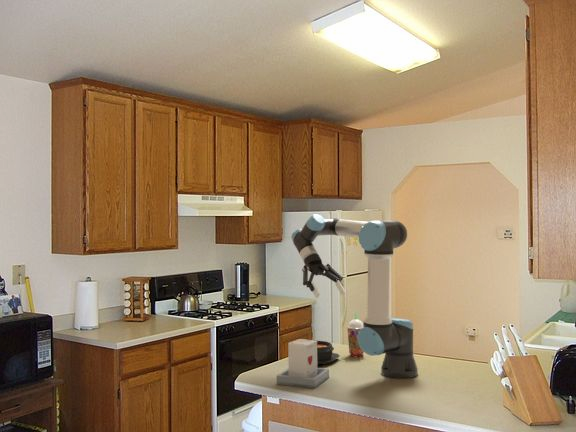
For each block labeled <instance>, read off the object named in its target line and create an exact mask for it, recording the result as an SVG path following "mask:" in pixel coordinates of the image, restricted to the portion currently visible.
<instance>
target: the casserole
mask: <svg viewBox="0 0 576 432" xmlns="http://www.w3.org/2000/svg"><path fill="white" fill-rule="evenodd" d="M316 341H317V366H321V365H325V364H328V363H331V362H332V363H333V361H336V359H338V358H340V357H341V355H339V353H336V352H333V351H334V350H335V348H334V347H333V344H332V342H329V341H326V340H325V341H324V340H316Z"/></svg>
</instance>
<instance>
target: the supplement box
mask: <svg viewBox="0 0 576 432" xmlns="http://www.w3.org/2000/svg"><path fill="white" fill-rule="evenodd" d="M317 341H318V340H313V339H312V340H311V339H304V338H299V339H296V340H293V341H290V342H288V345H287V347H288V349H287V350H288V360H287V361H288V364H287V365H288V367H287V369H288V373H289V376H294V377H304V378H315V377H316V376H317V368H318V365H317Z"/></svg>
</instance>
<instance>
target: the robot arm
mask: <svg viewBox="0 0 576 432" xmlns="http://www.w3.org/2000/svg"><path fill="white" fill-rule="evenodd" d="M318 236H339V237H340V236H341V237H347V238H355V239H358V242H359V245H360V247H361V248H362V249H363V250H364V251H363V252H364V253H363V254H364V255H365V256H366V257H367V304H366V305H367V307H366V309H367V311H366V312H367V313H366V314H367V315H366V317H365V318H364V319H363V321H362V323H363V328H361V329H360V331H359V332H358V335H357V340H358V344H359V346H360V348H362V350H363V352H364V353H365V354H366V355H369V356H371V357H374V356H380V355H382V354H385V355H384V358H383V361H382V365H381V372H380V373H381V374H382V375H383V376H385V377H388V378H394V379H409V378H413V377H417V376H418V374H419V369H418V368H419V367H418V365H417V363H416V359H415V356H414V325H413V322H412V320H409V319H406V318H399V317H398V318H397V317H389V315H390V313H389V312H390V309H389V307H390V258H391V257H392V256H394V249H397V248H400V247H401V246H403V245H404V244H405V242H406V241H407V238H408V230H407V227H406V226H405V224H403V223H402V222H400V221H399V220H394V219H392V220H391V219H389V220H371V221H361V220H351V219H342V218H338V217H337V218H324V217H323V216H322V215H320V214H317V213H315V214H314V213H313V214H311V216H310V217H309V218H308V219H307V220H306V222H305V223H304V225H303V227H302V228H299V229H296V230H295V231H293V232H292V234H291V236H290V237H291V240H292V243H293V245H294V246H295V247H294V248H296V250H297V252H298V254H299V256H300V258H301V259H302V261H303V263H304V266H303V267H302V269H301V270H302V285H303V286H306V288H309V290H310V292H312V294H313V295H314V298H315V299H318V298H319V297H320V295H321V294H320V292H319V290H318V288H317V286H316V284H315V282H313V279H314V277H315V276H323V277H325V278H327V279H329V280H331V281H332V282H334V284H335V286H336V289H337V290H338V291H339V293H340V295H341V296H344V295H345V293H346V290H345V287H344V284H343V283H342V282H343V281H342V280H343V279H344V277H343V276H342V275H341V274H339V272H338V271H336V270H335V269H334V268H332V266H331V265H330V263H327V264H326V265H324V264H323V261H322V259H321V256H320V254H319V253H318V251H317V249H316V248H315V246H314V244H313V242H314V241H315V240H316V239H317V237H318ZM308 272H309V273H310V275H309V273H308ZM308 275H309V276H308ZM308 277H309V278H308Z"/></svg>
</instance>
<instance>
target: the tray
mask: <svg viewBox="0 0 576 432" xmlns="http://www.w3.org/2000/svg"><path fill="white" fill-rule="evenodd" d="M329 378H330V368H321V367H317V376H316V377H315V378H304V377H294V376H289V373H288V368H287V369H284V370H283V371H281V372H280V373H278V374H276V385H280V386H291V387H298V388H306V389H317V388H318V387H319V386H321V384H323V383H324V382H325V381H327V380H328V379H329Z"/></svg>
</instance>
